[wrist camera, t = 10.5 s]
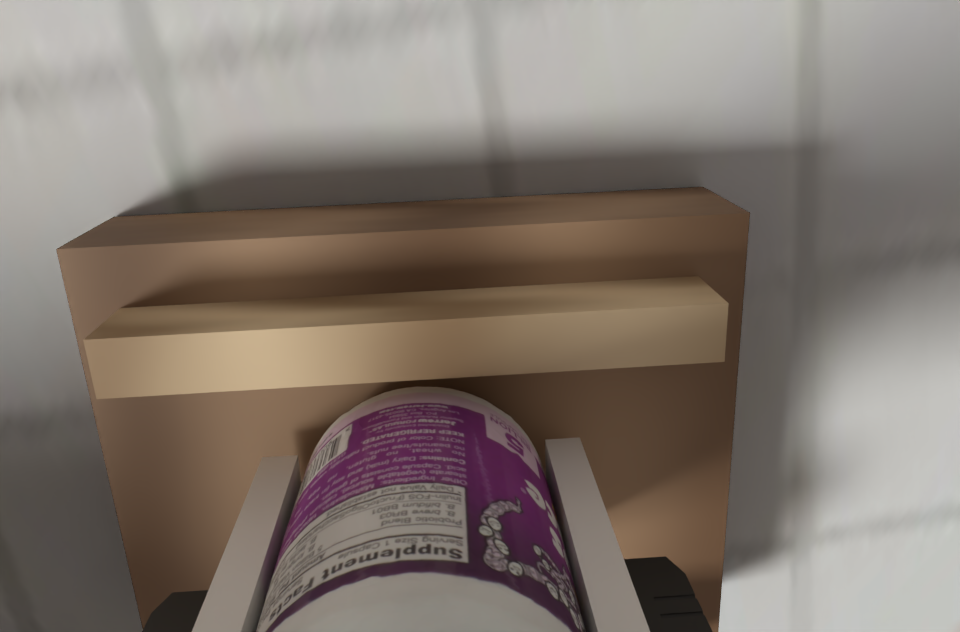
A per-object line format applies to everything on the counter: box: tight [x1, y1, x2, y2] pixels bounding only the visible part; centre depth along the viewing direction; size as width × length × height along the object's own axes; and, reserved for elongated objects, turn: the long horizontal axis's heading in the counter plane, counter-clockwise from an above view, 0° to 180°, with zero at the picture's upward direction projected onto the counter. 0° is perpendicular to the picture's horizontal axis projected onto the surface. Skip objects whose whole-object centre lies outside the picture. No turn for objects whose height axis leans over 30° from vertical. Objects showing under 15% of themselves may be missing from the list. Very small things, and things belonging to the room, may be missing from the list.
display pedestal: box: [56, 187, 750, 632], centre depth 18 cm, size 14×12×5 cm
